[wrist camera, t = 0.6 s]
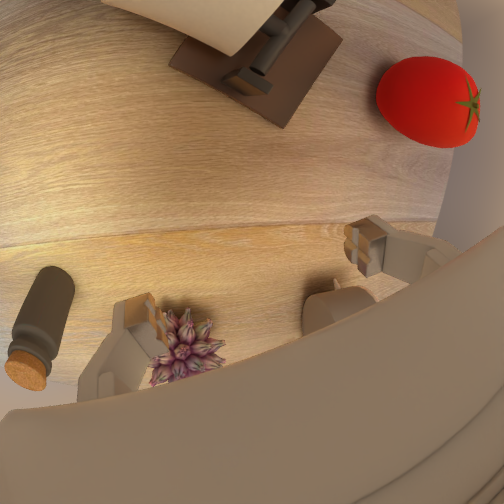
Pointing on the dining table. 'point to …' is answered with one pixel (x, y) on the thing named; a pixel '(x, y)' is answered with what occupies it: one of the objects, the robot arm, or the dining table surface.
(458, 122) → the tomato
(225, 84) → the holder base
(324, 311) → the alarm clock
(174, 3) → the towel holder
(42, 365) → the bottle
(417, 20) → the dining table surface
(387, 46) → the dining table surface
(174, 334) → the flower
